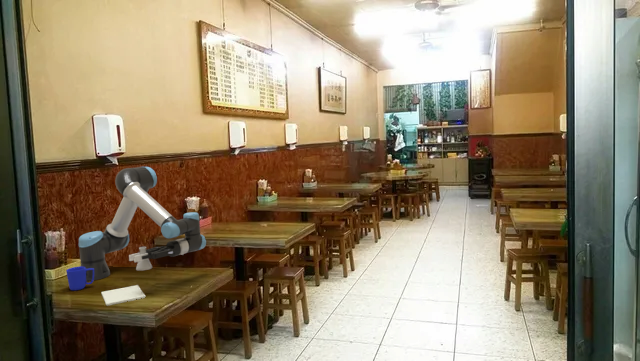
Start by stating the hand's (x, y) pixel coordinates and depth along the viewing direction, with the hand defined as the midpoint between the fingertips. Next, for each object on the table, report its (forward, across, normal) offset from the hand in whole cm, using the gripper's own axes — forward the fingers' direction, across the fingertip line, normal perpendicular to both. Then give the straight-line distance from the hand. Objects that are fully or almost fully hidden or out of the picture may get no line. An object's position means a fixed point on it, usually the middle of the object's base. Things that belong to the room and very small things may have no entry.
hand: (132, 258), depth 206 cm
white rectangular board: (+2, +6, -18) cm, 19 cm away
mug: (+7, +36, -18) cm, 41 cm away
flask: (-5, 0, -6) cm, 8 cm away
